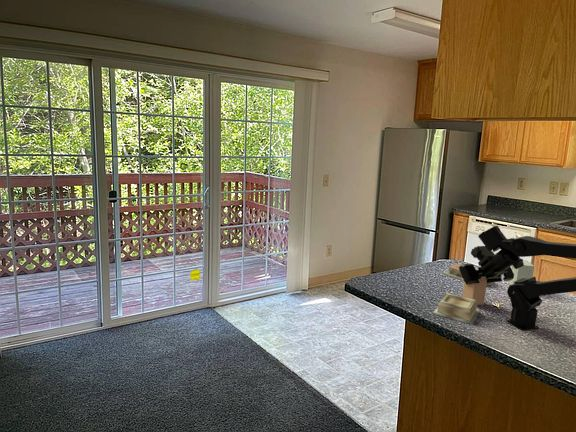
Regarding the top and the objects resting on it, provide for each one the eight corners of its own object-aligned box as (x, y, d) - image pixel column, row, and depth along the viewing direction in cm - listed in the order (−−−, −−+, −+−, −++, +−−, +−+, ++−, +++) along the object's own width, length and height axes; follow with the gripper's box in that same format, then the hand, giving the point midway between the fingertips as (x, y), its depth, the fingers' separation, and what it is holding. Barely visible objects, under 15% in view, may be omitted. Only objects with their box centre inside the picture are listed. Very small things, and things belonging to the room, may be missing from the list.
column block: (483, 304, 149) (488, 274, 147) (471, 305, 147) (475, 275, 145) (473, 299, 153) (477, 269, 151) (461, 299, 152) (465, 270, 150)
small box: (530, 292, 163) (535, 266, 161) (514, 291, 164) (518, 264, 162) (523, 285, 170) (527, 260, 168) (508, 284, 171) (512, 258, 169)
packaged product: (497, 273, 170) (483, 277, 165) (495, 284, 171) (481, 288, 166) (457, 260, 185) (443, 264, 179) (455, 271, 186) (441, 275, 180)
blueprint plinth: (479, 312, 142) (481, 299, 141) (472, 324, 132) (474, 311, 131) (442, 302, 149) (444, 291, 148) (432, 313, 139) (434, 301, 138)
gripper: (512, 239, 145) (485, 261, 157) (466, 241, 140) (441, 263, 152) (527, 269, 139) (498, 289, 151) (479, 272, 134) (453, 292, 146)
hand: (472, 282), depth 150 cm, fingers closed on column block, 5 cm apart
